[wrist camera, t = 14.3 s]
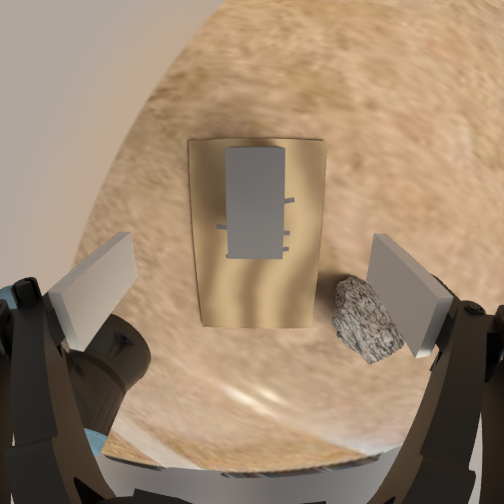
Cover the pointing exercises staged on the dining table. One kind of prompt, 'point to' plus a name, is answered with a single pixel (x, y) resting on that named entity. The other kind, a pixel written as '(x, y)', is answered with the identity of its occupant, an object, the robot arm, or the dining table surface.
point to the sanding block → (255, 201)
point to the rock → (364, 321)
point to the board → (258, 270)
